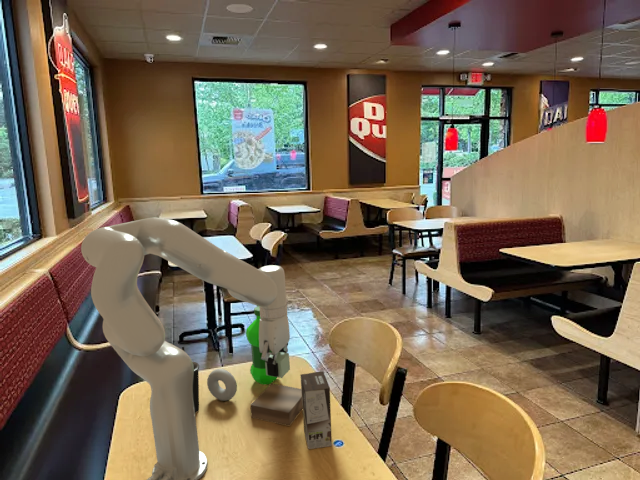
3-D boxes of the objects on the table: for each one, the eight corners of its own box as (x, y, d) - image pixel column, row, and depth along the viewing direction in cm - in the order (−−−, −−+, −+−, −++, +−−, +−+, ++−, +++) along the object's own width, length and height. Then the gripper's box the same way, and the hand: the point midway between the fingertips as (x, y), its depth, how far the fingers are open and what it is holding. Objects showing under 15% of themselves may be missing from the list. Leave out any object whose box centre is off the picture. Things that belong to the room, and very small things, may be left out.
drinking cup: (176, 406, 132) (168, 344, 128) (202, 400, 135) (196, 339, 130) (176, 420, 125) (168, 355, 121) (204, 414, 128) (197, 350, 123)
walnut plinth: (289, 426, 121) (288, 413, 120) (251, 417, 125) (250, 404, 124) (307, 402, 131) (307, 390, 131) (272, 395, 136) (271, 383, 135)
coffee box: (332, 446, 112) (330, 388, 108) (307, 450, 111) (304, 391, 108) (326, 424, 121) (324, 370, 117) (303, 427, 120) (299, 373, 116)
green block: (266, 375, 125) (264, 358, 124) (274, 366, 129) (273, 350, 128) (281, 378, 123) (280, 361, 122) (290, 369, 127) (288, 353, 126)
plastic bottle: (285, 373, 149) (281, 303, 143) (275, 390, 139) (270, 315, 133) (257, 371, 151) (252, 301, 146) (245, 387, 141) (239, 313, 136)
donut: (240, 399, 134) (237, 369, 132) (234, 405, 131) (231, 374, 129) (213, 393, 138) (210, 364, 136) (206, 399, 135) (203, 369, 133)
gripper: (276, 298, 131) (280, 355, 135) (245, 320, 116) (250, 383, 120) (299, 301, 128) (302, 358, 132) (270, 324, 113) (275, 388, 117)
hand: (278, 370), depth 126 cm, fingers closed on green block, 5 cm apart
